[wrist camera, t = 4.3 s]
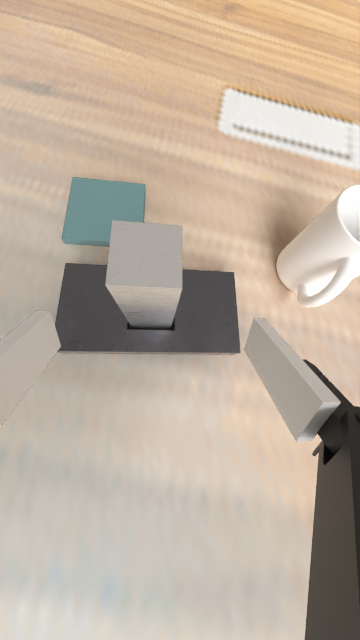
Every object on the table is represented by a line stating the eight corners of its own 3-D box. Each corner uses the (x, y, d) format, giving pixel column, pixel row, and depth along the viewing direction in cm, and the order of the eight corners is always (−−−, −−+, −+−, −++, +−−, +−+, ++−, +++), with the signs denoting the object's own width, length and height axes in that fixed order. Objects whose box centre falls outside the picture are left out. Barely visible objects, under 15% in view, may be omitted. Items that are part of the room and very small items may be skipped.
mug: (312, 330, 26) (407, 306, 16) (257, 303, 26) (318, 262, 16) (332, 262, 29) (421, 207, 19) (283, 238, 29) (347, 171, 19)
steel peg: (133, 330, 23) (105, 285, 11) (135, 296, 24) (112, 220, 12) (169, 331, 24) (182, 288, 11) (170, 298, 25) (182, 225, 12)
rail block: (62, 353, 22) (50, 351, 19) (74, 273, 24) (65, 263, 22) (232, 354, 24) (240, 352, 21) (227, 281, 26) (233, 272, 24)
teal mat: (65, 243, 25) (61, 238, 24) (75, 183, 28) (72, 177, 27) (142, 248, 26) (141, 243, 25) (145, 190, 29) (145, 184, 28)
